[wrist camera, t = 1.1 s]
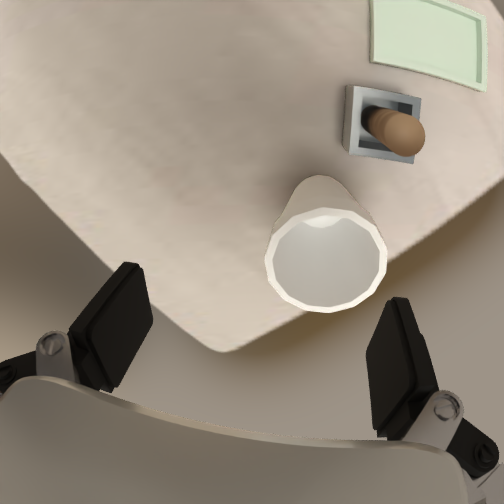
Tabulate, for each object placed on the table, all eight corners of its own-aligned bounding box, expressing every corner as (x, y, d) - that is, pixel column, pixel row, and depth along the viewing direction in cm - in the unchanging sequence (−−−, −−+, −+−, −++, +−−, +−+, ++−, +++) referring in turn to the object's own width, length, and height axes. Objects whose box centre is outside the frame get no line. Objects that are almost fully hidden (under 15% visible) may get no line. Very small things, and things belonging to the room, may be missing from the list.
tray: (369, 62, 24) (373, 61, 23) (368, -16, 19) (372, -21, 18) (478, 91, 22) (486, 92, 21) (478, 18, 17) (485, 16, 16)
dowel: (361, 102, 26) (387, 110, 18) (390, 107, 26) (427, 119, 17) (359, 132, 28) (382, 153, 19) (387, 136, 27) (421, 160, 19)
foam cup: (275, 233, 36) (260, 305, 25) (280, 157, 31) (267, 201, 20) (353, 242, 35) (370, 316, 24) (367, 168, 30) (401, 218, 19)
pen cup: (345, 85, 26) (354, 85, 22) (404, 95, 25) (421, 98, 21) (342, 144, 29) (348, 154, 25) (398, 152, 28) (413, 164, 24)
